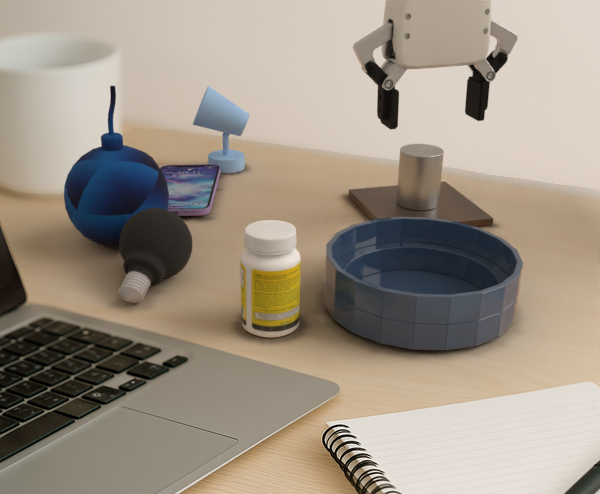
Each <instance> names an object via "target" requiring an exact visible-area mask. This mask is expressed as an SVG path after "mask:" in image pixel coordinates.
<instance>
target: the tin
mask: <svg viewBox="0 0 600 494" xmlns="http://www.w3.org/2000/svg"><path fill="white" fill-rule="evenodd" d="M444 154H445V151H444V149H443V148H441V147H440V146H437V145H434V144H428V143H409V144H405V145H403V146H401V147H400V149H399V159H398V172H397V173H398V174H397V184H396V185H397V198H396V202H397V204H398V205H399V206H401V207H403V208H406V209H410V210H431V209H434V208H436V207H437V206H438V205H439V195H440V185H441V182H442V175H443V174H442V173H443V164H444V163H443V162H444Z"/></svg>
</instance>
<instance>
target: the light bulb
mask: <svg viewBox="0 0 600 494" xmlns="http://www.w3.org/2000/svg"><path fill="white" fill-rule="evenodd" d="M119 246H120V248H119V252H120V256H121V258H122V261H123V264H122V267H123V271H124V273H125V276H124V279H123V281H122V283H121V285H120V286H119V289H118V295H119V297H120V298H121V299H122V300H123V301H125V302H128V303H131V304H139V303H141V302H142V301H144V298H145V297H146V294H147V293H148V290H149V288H150V287H153V286H156V285H158V284H160V283H161V282H162V280H168V279H170V278H172V277H174V276H175V275H178V274H179V273H180V272H181V271H183V270H184V268H185V267H186V266H187V264H188V263H189V261H190V259H191V256H192V252H193V236H192V233H191V231H190V228H189V226H188V225H187V223H186V221H184V219H183V218H182V217H181V216H178V215H177V214H175V213H173V212H172V211H169V210H166V209H162V208H149V209H145V210H142V211H140V212H138V213H136V214H135V215H133V216H132V217H131V218H130V219H129V220H128V221H127V222H126V224H125V225H124V227H123V229H122V232H121V235H120V241H119Z"/></svg>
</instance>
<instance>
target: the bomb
mask: <svg viewBox="0 0 600 494" xmlns="http://www.w3.org/2000/svg"><path fill="white" fill-rule="evenodd" d="M109 91H110V92H109V93H110V98H109V99H110V100H109V108H108V113H107V129H108V130H107V132H105V133H103V134H102V135H100V145H101V146H98V147H95V148H92V149H91V150H89V151H87V152H86V153H84V154H83V155H81V156H80V157H79V158H78V159H77V160H76V161H75V162H74V163H73V165H72V167H71V168H70V170H69V171H68V173H67V176H66V178H65V183H64V187H63V191H64V192H63V198H64V199H63V201H64V206H65V211H66V214H67V216H68V218H69V221H70V222H71V223H72V225H73V227H74V228H75V229H76V230H77V231H78V232H79V233H80V234H81V235H82V236H83V237H84V238H86V239H88V240H89V241H91V242H93V243H95V244H97V245H100V246H102V247H105V248H113V249H120V246H119V241H120V235H121V232H122V229H123V227H124V225H125V224H126V222H127V221H128V220H129V219H130V218H131V217H132V216H133V215H135V214H136V213H138V212H140V211H142V210H145V209H149V208H162V209H166V210H168V204H169V191H168V186H167V182H166V179H165V177H164V174H163V172H162V171H161V169H160V167H159V164H158V163H157V162H156V160H155V159H154V157H153V156H151V155H149V154H148V153H147V152H146V151H143V150H141V149H139V148H135V147H132V146H129V145H124V138H123V135H122V134H121V133H119V132H115V129H114V114H115V108H116V101H117V91H116V85H110V86H109Z"/></svg>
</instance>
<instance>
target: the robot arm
mask: <svg viewBox="0 0 600 494" xmlns="http://www.w3.org/2000/svg"><path fill="white" fill-rule="evenodd" d="M491 37H492V38H494V39H495V40H496V44H495V48H494V50H492V51H491V52H490V53H489V48H490V41H491ZM517 41H518V34H517V33H515V32H513V31H511V30H510V29H508V28H506V27H504V26H503V25H501V24H499V23H497V22H495V21H494V20H492V0H385V3H384V11H383V20H382V25H380V27H378V28H376V29H375V30H373V31H372V32H370V33H368V34H367V35H365V36H363V37H362V38H360V39H359V40H357V41H356V42H354V43H353V45H352V50H353V52H354V54H355V56H356V58H357V61H358V63H359V64H360V66H361V70H362V71H363V73H365V74H366V75H367V76H368V78H370V79H371V80H372V81H373V83H374V84H375V85H377V100H376V101H377V102H376V110H377V111H376V114H377V118H378V120H380V123H381V124H382V125H384V127H386V128H388V129H389V130H396V129H397V128H398V127H399V108H400V107H399V106H400V92H399V90H398V89H396V85H397V83H398V82H399V81H400V79H401V78H402V77H403V76H404V75H405V73H406V72H407V70H423V69H424V70H425V69H438V68H439V69H440V68H450V67H461V66H466V67H468V69H469V71H470V72H471V73H472V74H471V76H468V78H467V81H466V93H465V104H464V105H465V106H464V113H465V115H467V116H468V117H470V118H472V119H473V120H475V121H477V122H483V121H484V120H485V115H486V114H485V113H486V110H488V106H489V96H490V86H491V85H490V84H491V82H494V80H495V79H496V74H498V72H499V71H500V70H501V69H502V68H503V67H504V66H505V64H507V62H508V59H509V55H510V54H511V53H512V51H513V48H514V47H515V45H516V43H517ZM379 47H381V54H382V58H383V59H384V60H385V61H384V62H383V63H382V65H381V66H379V64H377V62H376V60H375V56H374V51H375V50H376V49H378V48H379ZM488 53H489V54H488Z"/></svg>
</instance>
